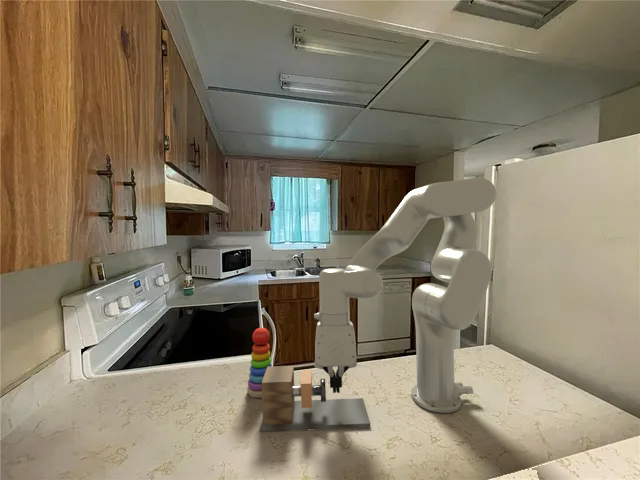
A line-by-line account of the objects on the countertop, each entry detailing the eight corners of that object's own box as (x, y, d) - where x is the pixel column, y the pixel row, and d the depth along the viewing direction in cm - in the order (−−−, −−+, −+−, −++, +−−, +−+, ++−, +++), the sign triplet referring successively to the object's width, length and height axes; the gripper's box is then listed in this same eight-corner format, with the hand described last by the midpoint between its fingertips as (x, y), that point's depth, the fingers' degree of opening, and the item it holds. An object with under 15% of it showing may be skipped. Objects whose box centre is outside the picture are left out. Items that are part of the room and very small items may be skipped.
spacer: (312, 391, 73) (311, 369, 73) (311, 407, 66) (311, 383, 66) (302, 392, 73) (301, 370, 72) (301, 407, 66) (300, 383, 66)
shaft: (325, 394, 72) (324, 374, 72) (326, 406, 67) (325, 385, 67) (265, 396, 72) (264, 376, 72) (261, 409, 67) (260, 387, 67)
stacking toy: (268, 400, 77) (267, 333, 76) (242, 397, 78) (240, 332, 78) (278, 385, 84) (277, 324, 84) (254, 383, 86) (252, 323, 86)
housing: (362, 401, 75) (361, 361, 75) (370, 427, 65) (369, 380, 65) (267, 405, 74) (266, 364, 74) (260, 431, 64) (258, 385, 64)
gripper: (304, 323, 65) (306, 399, 66) (367, 321, 66) (368, 397, 66) (305, 314, 73) (306, 382, 73) (361, 313, 73) (362, 381, 73)
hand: (336, 389), depth 70 cm, fingers closed
